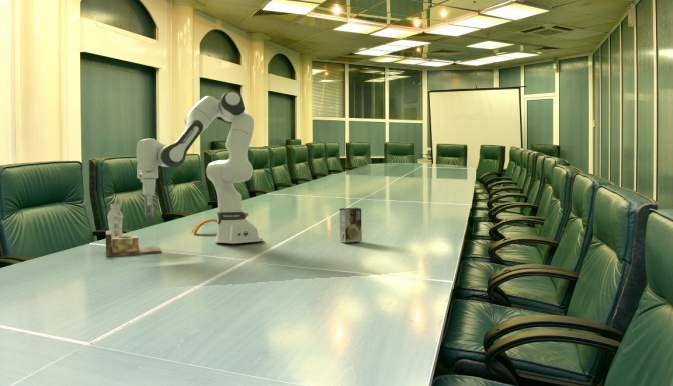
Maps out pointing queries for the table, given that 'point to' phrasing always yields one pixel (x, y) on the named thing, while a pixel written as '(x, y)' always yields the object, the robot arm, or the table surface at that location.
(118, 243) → the tan square frame
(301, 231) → the table surface
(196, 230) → the arch
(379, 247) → the table surface
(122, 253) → the jig
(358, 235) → the coffee box
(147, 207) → the dowel
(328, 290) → the table surface
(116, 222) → the plastic bottle
